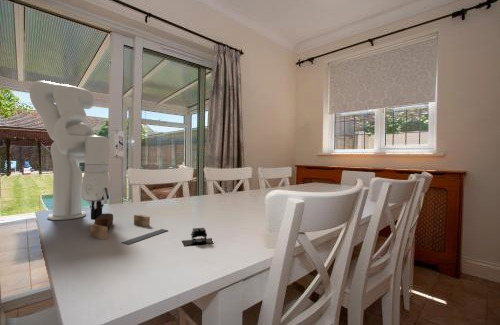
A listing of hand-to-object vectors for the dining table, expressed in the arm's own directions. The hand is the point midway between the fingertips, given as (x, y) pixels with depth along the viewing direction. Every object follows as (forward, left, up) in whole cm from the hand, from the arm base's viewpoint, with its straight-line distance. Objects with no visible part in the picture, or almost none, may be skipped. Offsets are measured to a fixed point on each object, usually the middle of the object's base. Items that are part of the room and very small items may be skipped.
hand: (96, 218), depth 91 cm
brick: (+6, -1, -3) cm, 7 cm away
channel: (+14, 0, -2) cm, 14 cm away
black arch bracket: (+43, +4, -3) cm, 44 cm away
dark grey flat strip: (+26, 0, -2) cm, 26 cm away
